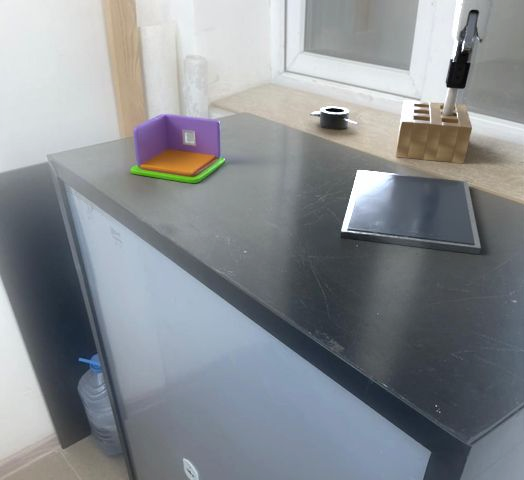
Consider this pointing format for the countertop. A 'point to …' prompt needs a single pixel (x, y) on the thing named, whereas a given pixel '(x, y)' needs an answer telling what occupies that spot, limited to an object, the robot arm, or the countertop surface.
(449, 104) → the stylus
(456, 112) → the pen stand
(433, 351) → the countertop surface
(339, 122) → the black ring with handles
